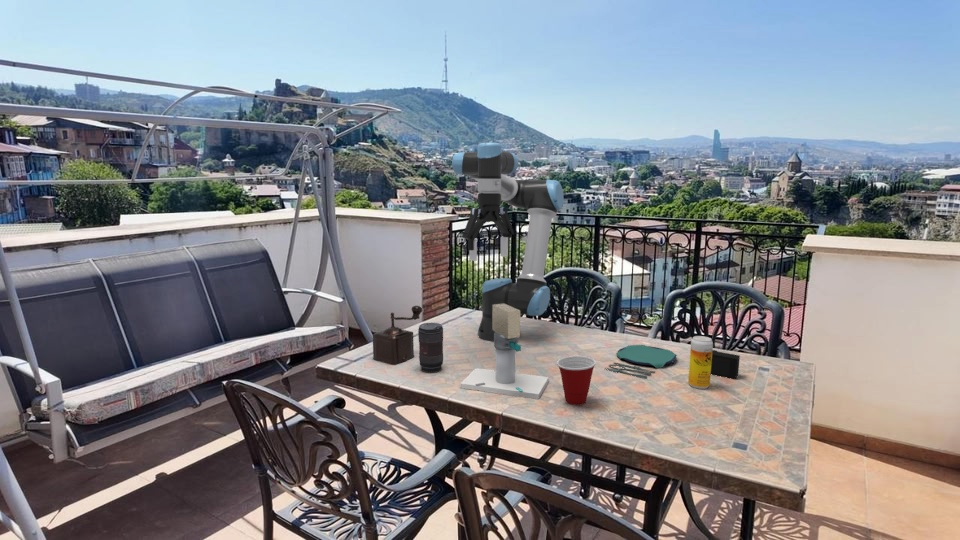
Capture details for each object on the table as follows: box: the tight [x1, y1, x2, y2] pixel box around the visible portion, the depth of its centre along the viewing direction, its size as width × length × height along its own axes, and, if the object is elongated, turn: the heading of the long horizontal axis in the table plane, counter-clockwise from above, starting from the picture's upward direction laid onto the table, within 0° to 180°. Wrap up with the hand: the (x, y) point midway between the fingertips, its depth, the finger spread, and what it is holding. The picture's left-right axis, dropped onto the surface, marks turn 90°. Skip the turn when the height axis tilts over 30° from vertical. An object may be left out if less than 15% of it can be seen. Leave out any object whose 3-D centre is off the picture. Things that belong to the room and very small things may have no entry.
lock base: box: [459, 348, 550, 400], centre depth 159 cm, size 14×24×12 cm, turn 71°
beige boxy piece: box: [492, 304, 522, 352], centre depth 156 cm, size 13×7×12 cm, turn 26°
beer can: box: [687, 335, 714, 390], centre depth 158 cm, size 6×6×15 cm
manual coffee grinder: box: [372, 305, 423, 366], centre depth 184 cm, size 16×11×18 cm
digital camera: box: [711, 349, 741, 380], centre depth 169 cm, size 10×5×7 cm, turn 54°
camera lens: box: [417, 322, 444, 373], centre depth 172 cm, size 8×8×15 cm
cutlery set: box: [604, 344, 678, 380], centre depth 181 cm, size 20×30×2 cm, turn 140°
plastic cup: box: [556, 355, 597, 406], centre depth 147 cm, size 11×11×12 cm
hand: (489, 258), depth 170 cm, fingers open, 13 cm apart
